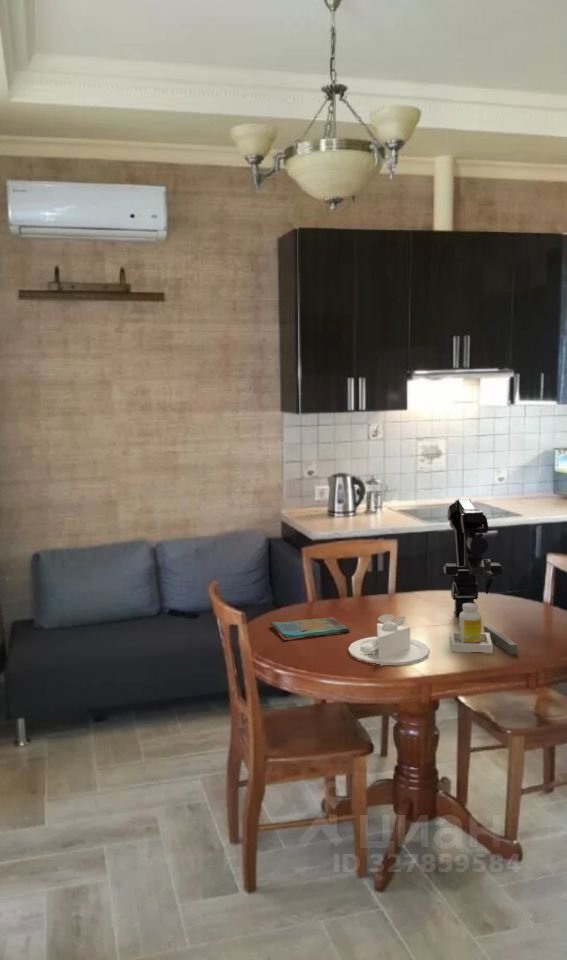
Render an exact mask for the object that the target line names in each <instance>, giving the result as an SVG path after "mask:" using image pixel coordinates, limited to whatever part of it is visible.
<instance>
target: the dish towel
mask: <svg viewBox="0 0 567 960" xmlns="http://www.w3.org/2000/svg"><path fill="white" fill-rule="evenodd" d="M270 625H273V627H274V628H275V629H276V630H277V631H278V632H279V633H281V634H282V635H283V636H284V637H285V638H295V637H296V638H297V637H309V638H311V637H310V636H317V637H320V636H319V635H325V636H328V635H327V634H334V635H338V634H337V633H341V634H347V633H346V632H349V633H350V632H351V630H350V628H349V627H347V626H346V625H344V624H343V623H341V622H340V621H339V620H337V619H336V618H335V617H334V616H330V617H324V618H313V619H312V618H311V619H299V620H295V621H294V620H293V621H282V622H280V621H279V622H278V621H273V622H272V621H271V622H270ZM303 630H307V631H305V632H301V631H303Z"/></svg>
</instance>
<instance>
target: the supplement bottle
mask: <svg viewBox="0 0 567 960" xmlns="http://www.w3.org/2000/svg"><path fill="white" fill-rule="evenodd" d="M478 605H479V604H476V603H475V604H474V603H464V604H463V605H462V608H463V612H461V613H460V615H459V617H458V619H459V620H458V621H459V622H458V623H459V628H458V629H459V630H458V632H459V642H460V643H474V644H481V633H482V615H481V614H480V613H479V612H478V609H479V607H478Z"/></svg>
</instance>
